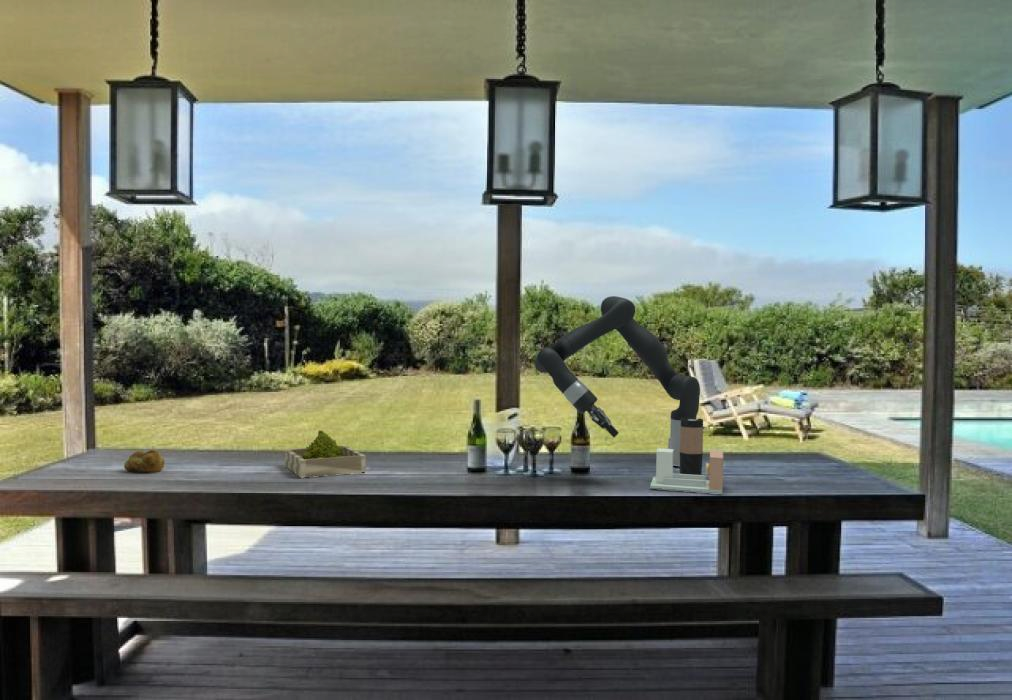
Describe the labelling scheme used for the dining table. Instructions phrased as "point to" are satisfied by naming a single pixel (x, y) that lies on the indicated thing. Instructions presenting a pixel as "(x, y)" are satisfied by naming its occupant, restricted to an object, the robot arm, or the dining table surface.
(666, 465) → the white rectangular block
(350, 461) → the veg crate
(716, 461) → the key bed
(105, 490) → the dining table surface
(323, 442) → the vegetable
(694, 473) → the travel mug
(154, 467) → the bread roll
